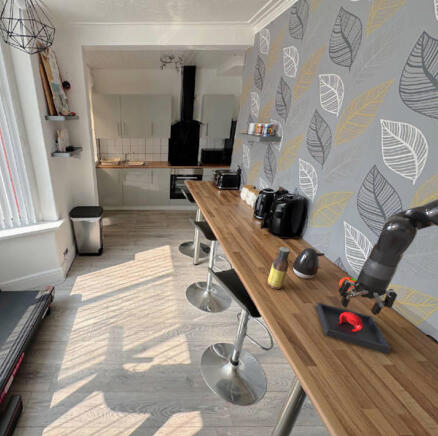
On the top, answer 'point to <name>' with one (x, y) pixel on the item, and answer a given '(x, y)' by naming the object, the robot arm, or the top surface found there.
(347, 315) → the red animal figurine
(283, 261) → the sauce bottle
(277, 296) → the top surface
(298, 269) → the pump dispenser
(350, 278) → the clementine
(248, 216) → the top surface
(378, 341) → the tray
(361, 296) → the robot arm
